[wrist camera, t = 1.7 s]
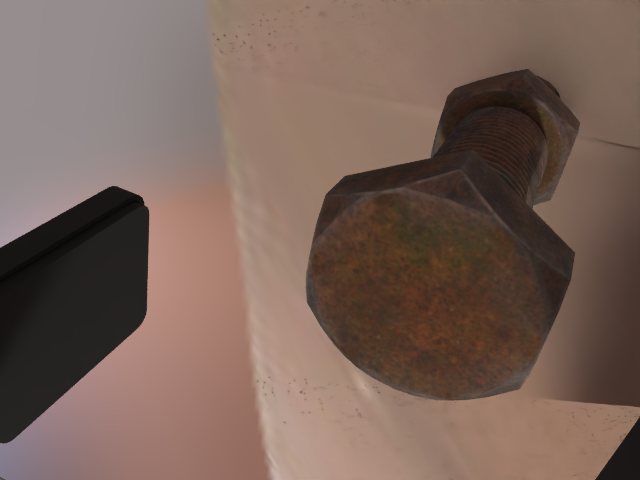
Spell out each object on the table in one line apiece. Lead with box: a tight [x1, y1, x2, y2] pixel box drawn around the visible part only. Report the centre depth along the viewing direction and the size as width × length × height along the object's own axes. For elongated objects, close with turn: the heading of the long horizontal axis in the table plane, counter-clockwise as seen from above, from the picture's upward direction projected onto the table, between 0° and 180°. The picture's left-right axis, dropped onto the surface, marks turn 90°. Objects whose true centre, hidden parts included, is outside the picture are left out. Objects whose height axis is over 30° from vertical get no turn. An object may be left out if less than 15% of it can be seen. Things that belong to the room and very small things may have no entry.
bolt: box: [306, 69, 580, 400], centre depth 18 cm, size 6×5×15 cm
